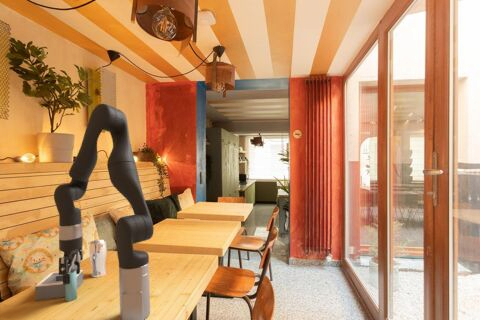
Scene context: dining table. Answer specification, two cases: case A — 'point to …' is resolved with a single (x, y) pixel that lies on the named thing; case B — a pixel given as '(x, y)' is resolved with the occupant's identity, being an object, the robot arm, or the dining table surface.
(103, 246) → the tumbler
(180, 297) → the dining table surface
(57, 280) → the socket block
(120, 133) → the robot arm
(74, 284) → the plug
